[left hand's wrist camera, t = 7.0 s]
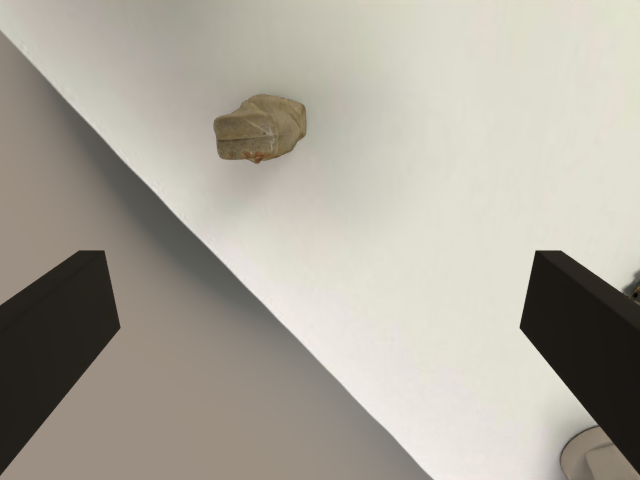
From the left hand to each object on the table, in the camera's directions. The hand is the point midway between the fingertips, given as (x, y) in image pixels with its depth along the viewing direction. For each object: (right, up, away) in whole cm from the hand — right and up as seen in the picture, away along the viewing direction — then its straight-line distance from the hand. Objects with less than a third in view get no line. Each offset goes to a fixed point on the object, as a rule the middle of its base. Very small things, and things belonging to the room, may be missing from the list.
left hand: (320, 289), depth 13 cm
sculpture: (-5, +15, +33) cm, 37 cm away
